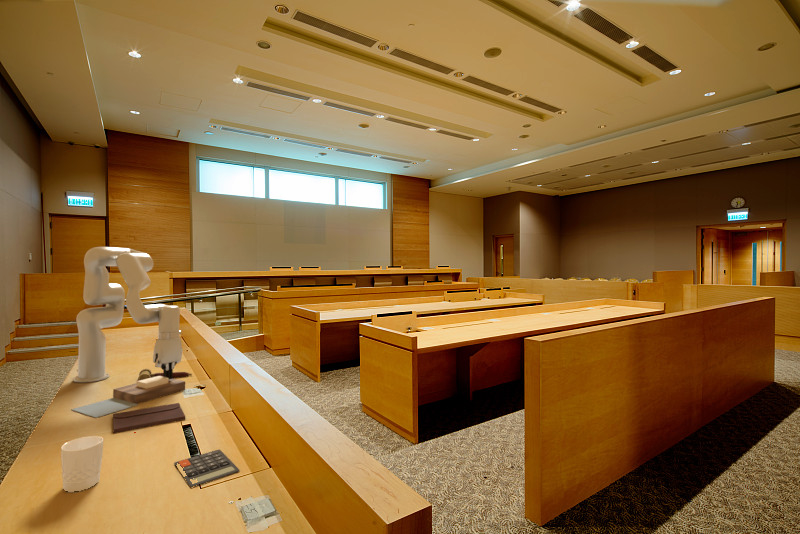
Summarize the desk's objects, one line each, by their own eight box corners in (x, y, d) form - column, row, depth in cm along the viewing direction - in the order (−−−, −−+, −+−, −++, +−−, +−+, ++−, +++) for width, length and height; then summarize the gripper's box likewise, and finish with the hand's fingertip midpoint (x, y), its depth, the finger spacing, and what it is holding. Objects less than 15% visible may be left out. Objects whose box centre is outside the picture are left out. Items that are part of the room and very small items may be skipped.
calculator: (219, 448, 112) (240, 469, 101) (219, 451, 112) (239, 472, 101) (173, 461, 104) (190, 486, 93) (173, 465, 104) (190, 490, 93)
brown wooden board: (113, 398, 151) (113, 389, 151) (163, 384, 170) (163, 376, 170) (135, 404, 146) (136, 395, 146) (185, 389, 164) (185, 381, 164)
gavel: (192, 366, 188) (193, 372, 180) (191, 376, 188) (192, 382, 179) (140, 368, 178) (138, 374, 169) (139, 378, 178) (137, 385, 169)
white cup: (76, 476, 97) (77, 435, 97) (110, 475, 98) (111, 435, 98) (50, 494, 89) (52, 451, 89) (87, 494, 90) (88, 450, 90)
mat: (71, 410, 138) (71, 409, 138) (113, 398, 151) (113, 397, 151) (95, 418, 132) (95, 417, 132) (138, 405, 145) (138, 404, 145)
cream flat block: (136, 386, 156) (137, 381, 156) (159, 380, 164) (159, 375, 164) (146, 388, 153) (146, 383, 153) (168, 382, 161) (168, 377, 161)
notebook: (185, 421, 133) (185, 415, 133) (113, 434, 121) (113, 428, 121) (178, 407, 145) (178, 402, 145) (112, 418, 133) (112, 413, 133)
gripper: (179, 331, 172) (178, 373, 172) (145, 337, 159) (144, 382, 159) (191, 333, 169) (190, 375, 169) (157, 338, 156) (156, 385, 156)
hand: (167, 378), depth 164 cm, fingers closed
